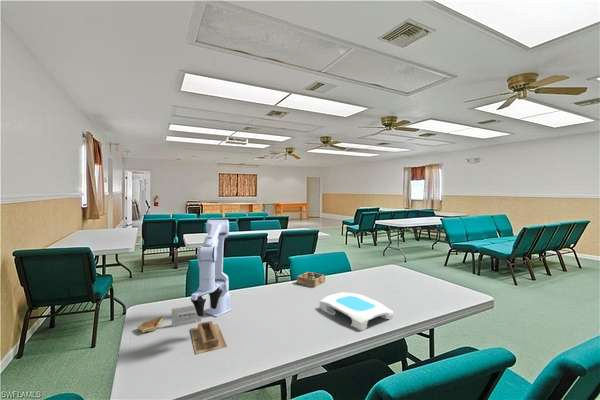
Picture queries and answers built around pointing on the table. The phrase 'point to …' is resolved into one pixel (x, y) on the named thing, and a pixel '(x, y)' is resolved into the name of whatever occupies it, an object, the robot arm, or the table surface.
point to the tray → (207, 337)
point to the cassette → (185, 319)
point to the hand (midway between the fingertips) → (207, 312)
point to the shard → (149, 325)
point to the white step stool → (355, 308)
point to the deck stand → (310, 279)
